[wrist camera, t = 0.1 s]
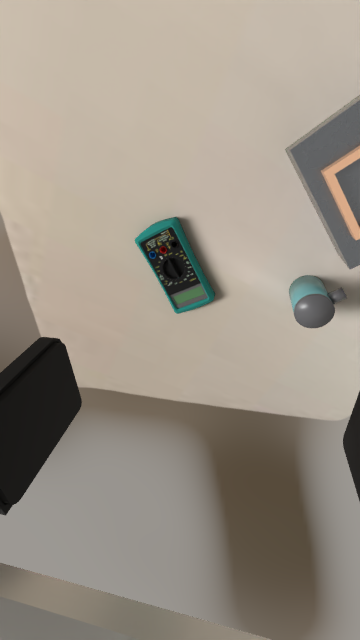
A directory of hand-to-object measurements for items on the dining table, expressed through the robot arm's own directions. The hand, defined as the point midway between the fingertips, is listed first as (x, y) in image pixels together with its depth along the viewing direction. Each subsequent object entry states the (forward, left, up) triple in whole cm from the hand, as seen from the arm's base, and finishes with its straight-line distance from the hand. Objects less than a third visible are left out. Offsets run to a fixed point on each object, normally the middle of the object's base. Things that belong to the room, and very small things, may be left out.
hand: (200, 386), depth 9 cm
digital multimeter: (+3, -13, -38) cm, 40 cm away
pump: (+17, +2, -37) cm, 41 cm away
